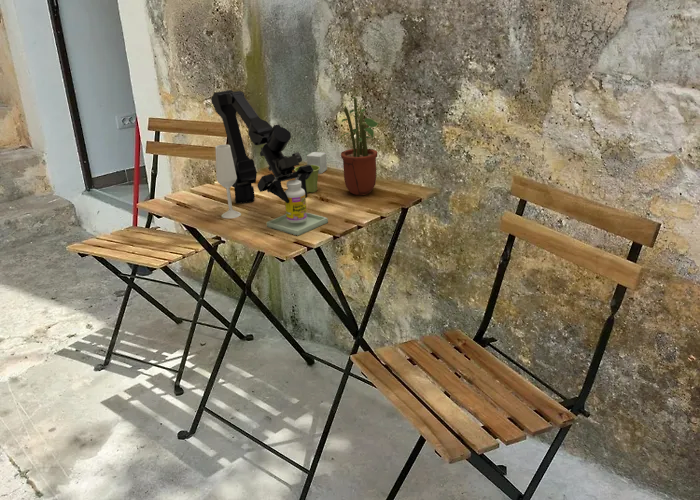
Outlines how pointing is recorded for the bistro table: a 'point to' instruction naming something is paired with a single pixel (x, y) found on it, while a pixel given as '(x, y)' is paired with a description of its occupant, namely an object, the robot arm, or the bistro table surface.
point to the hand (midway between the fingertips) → (297, 200)
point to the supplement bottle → (295, 202)
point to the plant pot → (311, 179)
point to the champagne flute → (226, 175)
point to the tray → (297, 224)
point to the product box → (317, 160)
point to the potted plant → (359, 156)
